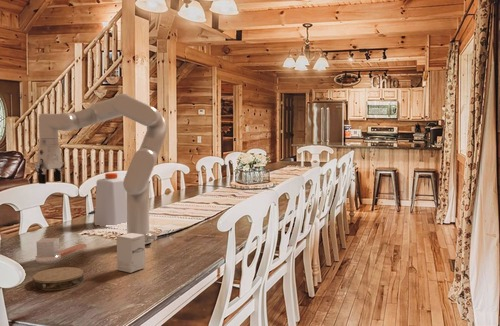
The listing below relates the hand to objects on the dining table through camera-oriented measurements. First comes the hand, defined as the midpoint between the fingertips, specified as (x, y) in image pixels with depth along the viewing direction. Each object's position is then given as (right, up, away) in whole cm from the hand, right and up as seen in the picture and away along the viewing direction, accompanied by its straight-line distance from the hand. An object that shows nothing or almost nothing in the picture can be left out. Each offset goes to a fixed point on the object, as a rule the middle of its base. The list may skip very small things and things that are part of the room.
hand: (50, 182), depth 211 cm
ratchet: (+10, -29, -13) cm, 34 cm away
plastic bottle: (+14, -25, +46) cm, 54 cm away
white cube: (+8, -27, -21) cm, 35 cm away
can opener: (-2, -23, +77) cm, 80 cm away
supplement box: (+42, -31, -31) cm, 61 cm away
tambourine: (+21, -32, -46) cm, 60 cm away
